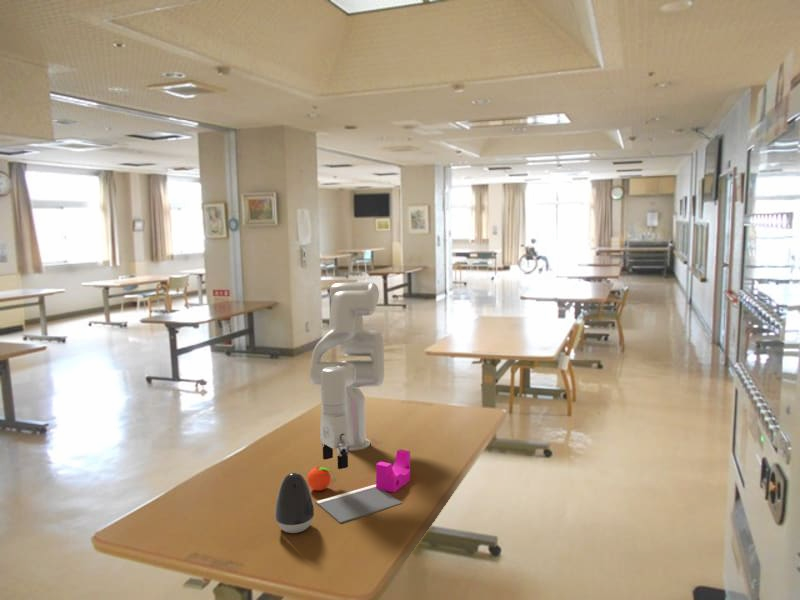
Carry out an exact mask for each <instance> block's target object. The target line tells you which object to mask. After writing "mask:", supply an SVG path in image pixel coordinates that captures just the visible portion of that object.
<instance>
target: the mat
mask: <svg viewBox="0 0 800 600" xmlns="http://www.w3.org/2000/svg"><path fill="white" fill-rule="evenodd" d="M315 503H316V504H317V505H318V506H319V507H320V508H322V510H324V511H325V512H326V513H327V514H328V515H329V516H331V517H332V518H333V519H335V520H336V521H337V522H338V523H339V524H340V523H341V524H344V523H346V522H350V521H353V520H356V519H359V518H362V517H366V516H369V515H372V514H374V513H378V512H381V511H383V510H386V509H389V508H393V507H396V506H399V505H402V504H403V502H402V501H401V500H399V499H397V498H396V497H394V496H393V495H392V494H390V492H388V491H385V490H381V489H377V488H376V483H375V484H372V485H368V486H365V487H362V488H358V489H355V490H351V491H348V492H344V493H339V494H337V495H334V496H333V495H332V496H330V497H327V498H324V499H319V500H317V501H315Z"/></svg>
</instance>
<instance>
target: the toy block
mask: <svg viewBox="0 0 800 600" xmlns="http://www.w3.org/2000/svg"><path fill="white" fill-rule="evenodd" d="M375 465H376V466H375V468H376V469H375V473H376V475H375V481H376V482H375V484H376V488H377V489H381V490H384V491H386V492H389V493H396V492H397V491H398V490H400V489H401V488H402V487H403V486H405V485H406V484H407V483H408V482H410V480H411V451H410V450H407V449H398V450H396V456H395V459H394V462H393V464H392V463H390V462H384V461H379V462H377V463H376V464H375Z"/></svg>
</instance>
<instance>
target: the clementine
mask: <svg viewBox="0 0 800 600" xmlns="http://www.w3.org/2000/svg"><path fill="white" fill-rule="evenodd" d="M331 474H332V475H331ZM331 476H334V473H333V472H332V470H331V469H329V468H328V467H323V466H315V467H314V468H312V469H311V470H310V471H309V472H308V476H307V484H308V486H309V487H310V488H311V489H312V490H314V491H318V492H320V491H324V490H325V489H327V487H328V486H330V484H331V479H332V478H331Z"/></svg>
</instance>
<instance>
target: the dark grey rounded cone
mask: <svg viewBox="0 0 800 600" xmlns="http://www.w3.org/2000/svg"><path fill="white" fill-rule="evenodd" d="M309 487H310V486H309V484H308V482H307V481H306V479H305V478H304V477H303V475H302V474H301V473H299V472H296V471H295V472H290V473H287V474H286V475H285V476H284V478H283V480H282V481H281V483H280V486H279V489H278V492H277V496H276V502H275V508H274V518H275V521H276V523H277V525H278V527H279V528H280V530H282V531H283V532H285V533H289V534H298V533H301V532H303V531H306V530H307V529H308V528H309V527H310V525H311V523H312V521H313V518H314V516H315V506H314V502H313V497H312V494H311V491H310V488H309Z"/></svg>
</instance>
